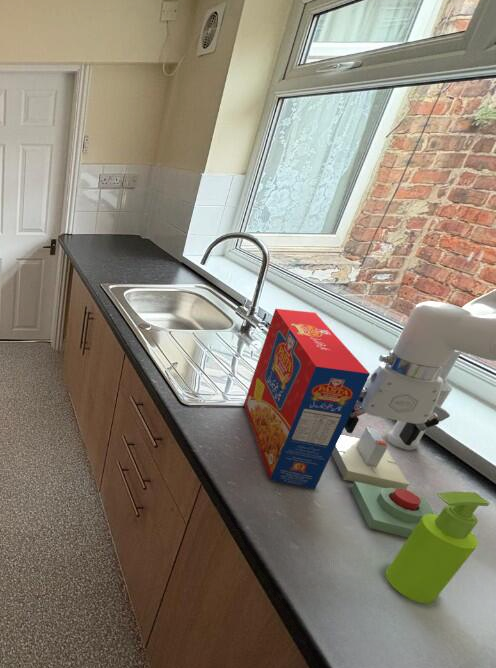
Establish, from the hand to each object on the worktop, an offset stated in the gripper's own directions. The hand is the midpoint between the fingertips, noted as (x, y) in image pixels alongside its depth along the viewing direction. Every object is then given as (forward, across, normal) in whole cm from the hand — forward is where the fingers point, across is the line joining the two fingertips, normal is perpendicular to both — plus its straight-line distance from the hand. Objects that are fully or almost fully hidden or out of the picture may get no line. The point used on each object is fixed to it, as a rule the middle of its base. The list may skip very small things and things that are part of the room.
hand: (375, 435), depth 87 cm
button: (+5, +1, -14) cm, 15 cm away
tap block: (+8, 0, 0) cm, 8 cm away
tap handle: (+6, 0, 0) cm, 6 cm away
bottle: (+8, +12, +12) cm, 19 cm away
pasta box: (+9, -16, +2) cm, 18 cm away
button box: (+8, +2, -14) cm, 16 cm away
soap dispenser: (+8, -2, -30) cm, 31 cm away
